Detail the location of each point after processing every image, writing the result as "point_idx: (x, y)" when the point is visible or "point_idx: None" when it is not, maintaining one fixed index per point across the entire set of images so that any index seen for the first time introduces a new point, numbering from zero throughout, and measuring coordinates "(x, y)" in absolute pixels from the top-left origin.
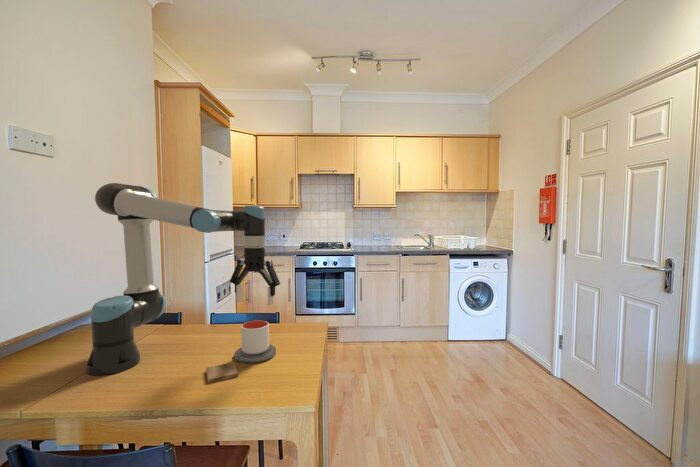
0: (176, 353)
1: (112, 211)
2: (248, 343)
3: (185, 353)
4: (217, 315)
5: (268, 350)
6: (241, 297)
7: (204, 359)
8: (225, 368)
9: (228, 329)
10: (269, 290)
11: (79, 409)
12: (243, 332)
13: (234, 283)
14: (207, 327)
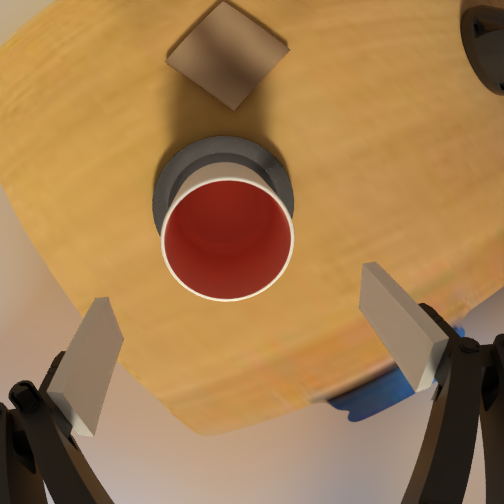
0: (446, 129)
1: None
2: (213, 167)
3: (428, 135)
4: None
5: None
6: (369, 312)
7: (355, 115)
8: (226, 65)
9: None
10: (55, 374)
11: None
12: (245, 175)
13: (472, 341)
14: (467, 296)
